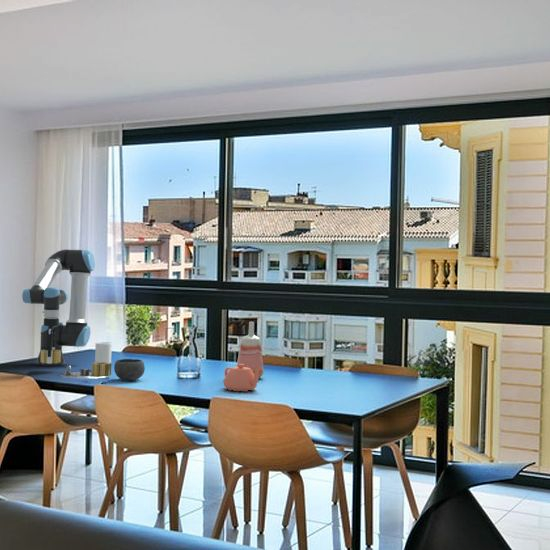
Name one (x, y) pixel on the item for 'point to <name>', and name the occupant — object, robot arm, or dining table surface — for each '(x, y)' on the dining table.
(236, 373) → the teapot
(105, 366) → the seated gear
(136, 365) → the bowl
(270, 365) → the dining table surface
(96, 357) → the cup
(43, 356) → the gear
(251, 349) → the pink squeeze bottle
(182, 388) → the dining table surface
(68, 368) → the pin
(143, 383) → the dining table surface
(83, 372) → the carrier
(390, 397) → the dining table surface
